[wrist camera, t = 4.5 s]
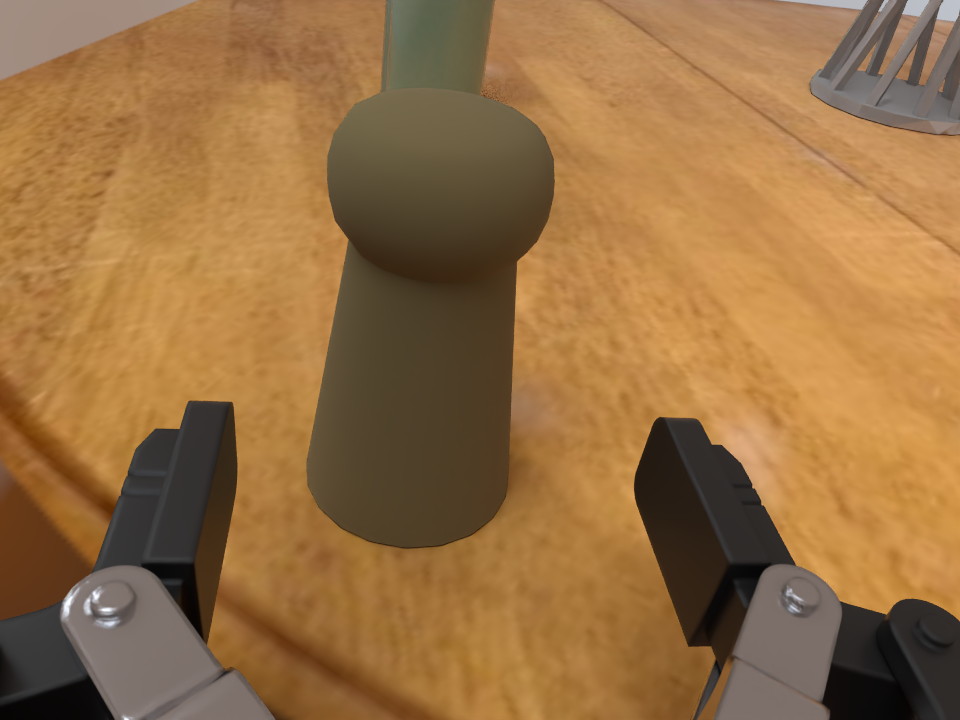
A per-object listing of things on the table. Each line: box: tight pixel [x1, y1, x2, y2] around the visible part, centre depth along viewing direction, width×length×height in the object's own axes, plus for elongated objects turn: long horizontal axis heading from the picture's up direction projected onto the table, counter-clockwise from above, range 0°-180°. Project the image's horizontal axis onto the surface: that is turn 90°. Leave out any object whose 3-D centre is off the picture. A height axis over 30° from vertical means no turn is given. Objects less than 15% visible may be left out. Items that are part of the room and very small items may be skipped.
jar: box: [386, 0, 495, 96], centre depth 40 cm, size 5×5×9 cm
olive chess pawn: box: [307, 88, 555, 548], centre depth 20 cm, size 6×6×11 cm
